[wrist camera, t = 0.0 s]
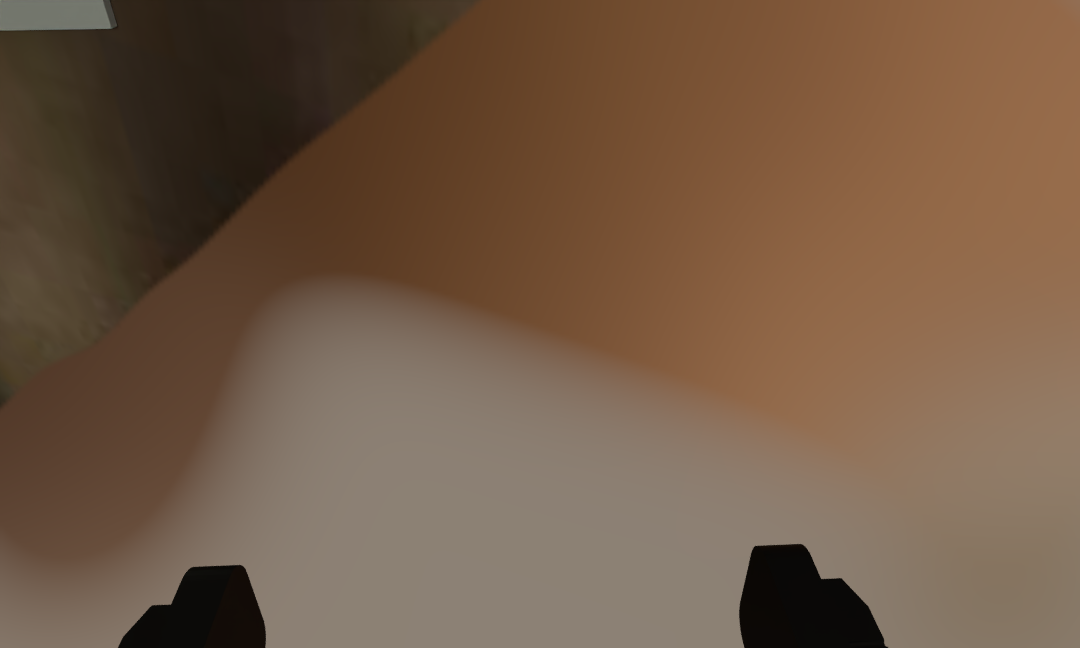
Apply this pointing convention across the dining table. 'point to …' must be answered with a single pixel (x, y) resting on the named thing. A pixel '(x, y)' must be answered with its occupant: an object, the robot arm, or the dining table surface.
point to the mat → (56, 14)
